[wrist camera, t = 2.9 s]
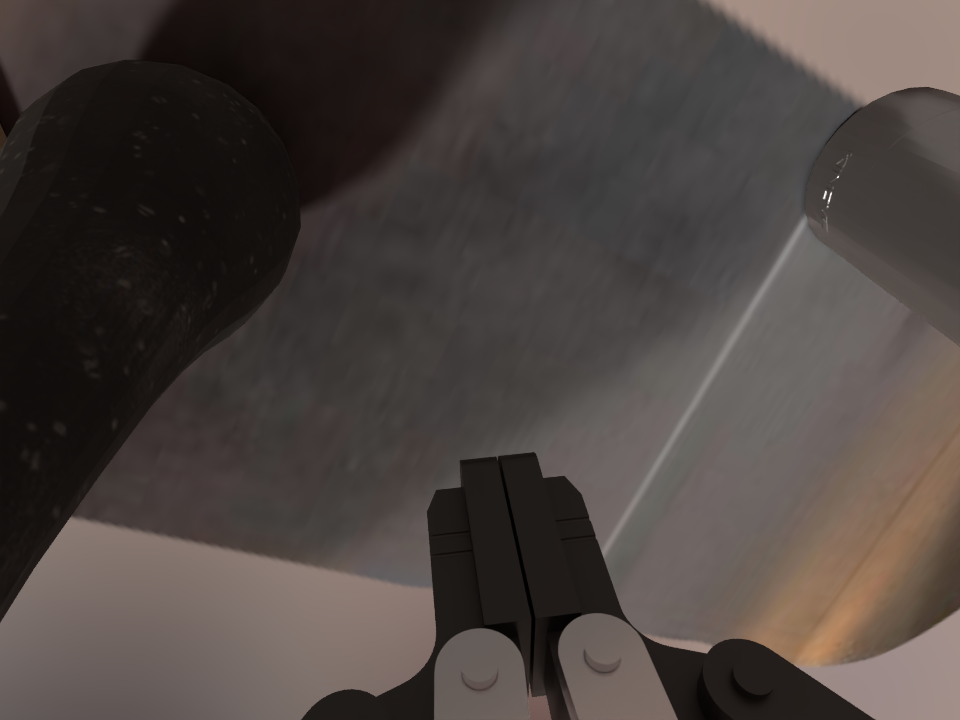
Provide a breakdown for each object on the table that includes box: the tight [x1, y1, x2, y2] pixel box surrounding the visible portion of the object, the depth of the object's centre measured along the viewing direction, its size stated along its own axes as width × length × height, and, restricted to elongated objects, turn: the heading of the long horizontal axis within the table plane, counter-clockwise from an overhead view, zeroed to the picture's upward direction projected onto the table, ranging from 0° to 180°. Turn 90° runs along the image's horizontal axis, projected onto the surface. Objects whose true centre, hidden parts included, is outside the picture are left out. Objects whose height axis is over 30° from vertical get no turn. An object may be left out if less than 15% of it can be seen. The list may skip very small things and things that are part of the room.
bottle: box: [0, 60, 301, 622], centre depth 18 cm, size 11×11×30 cm
